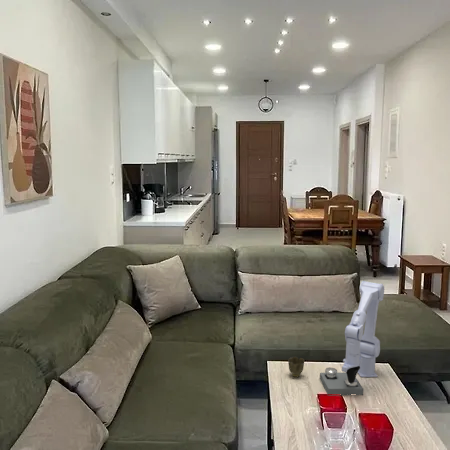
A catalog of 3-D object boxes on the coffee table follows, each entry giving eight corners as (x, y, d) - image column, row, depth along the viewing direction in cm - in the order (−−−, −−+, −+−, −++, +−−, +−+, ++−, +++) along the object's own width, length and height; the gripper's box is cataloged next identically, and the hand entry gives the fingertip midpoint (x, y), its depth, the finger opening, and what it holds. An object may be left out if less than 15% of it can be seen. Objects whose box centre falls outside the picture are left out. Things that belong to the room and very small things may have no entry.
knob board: (319, 378, 215) (320, 372, 215) (352, 378, 216) (352, 372, 215) (328, 395, 200) (328, 388, 200) (362, 395, 201) (363, 388, 200)
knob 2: (343, 386, 207) (343, 378, 206) (354, 386, 207) (355, 378, 207) (346, 392, 202) (347, 384, 201) (358, 392, 202) (359, 384, 201)
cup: (306, 375, 219) (307, 358, 217) (300, 381, 212) (300, 364, 211) (291, 371, 223) (292, 355, 221) (285, 377, 216) (285, 360, 215)
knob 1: (323, 375, 213) (324, 367, 213) (335, 375, 213) (335, 367, 213) (326, 380, 208) (327, 372, 208) (338, 380, 208) (338, 372, 208)
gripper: (352, 344, 210) (350, 373, 212) (336, 354, 199) (334, 384, 201) (367, 349, 205) (365, 378, 207) (351, 359, 195) (349, 390, 197)
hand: (351, 382), depth 204 cm, fingers closed, pressing on knob 2
